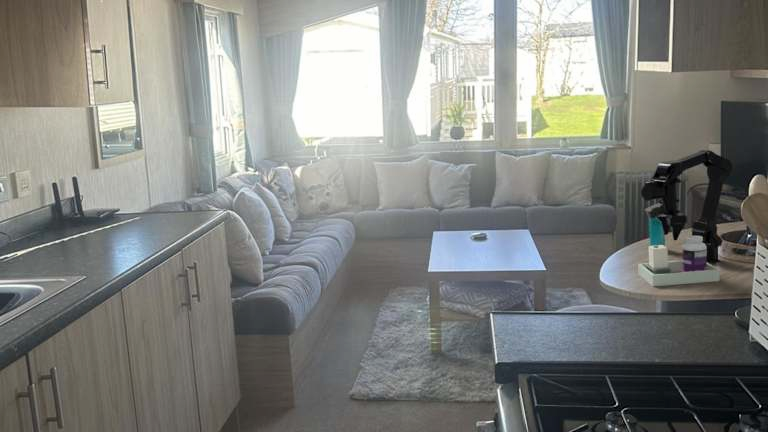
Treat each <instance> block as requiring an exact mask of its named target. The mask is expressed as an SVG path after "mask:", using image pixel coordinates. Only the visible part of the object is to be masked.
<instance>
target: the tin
mask: <svg viewBox="0 0 768 432" xmlns="http://www.w3.org/2000/svg"><path fill="white" fill-rule="evenodd" d="M646 269H648V270H649V271H650V272H651V273H653V274H654V275H655V274H667V273H672V272H671V267H670V266H668V267H663V268H653V267H651V266H650V265H649V264H647V265H646Z"/></svg>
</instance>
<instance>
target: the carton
mask: <svg viewBox="0 0 768 432" xmlns="http://www.w3.org/2000/svg"><path fill="white" fill-rule="evenodd" d="M668 251H669V249H668V247H667V246H666V245H665V246H664V245H653V246H650V245H648V263H649V265H650V266H651V267H653V268H663V267H668V262H669V257H668V256H669V254H668V253H669V252H668Z"/></svg>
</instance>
